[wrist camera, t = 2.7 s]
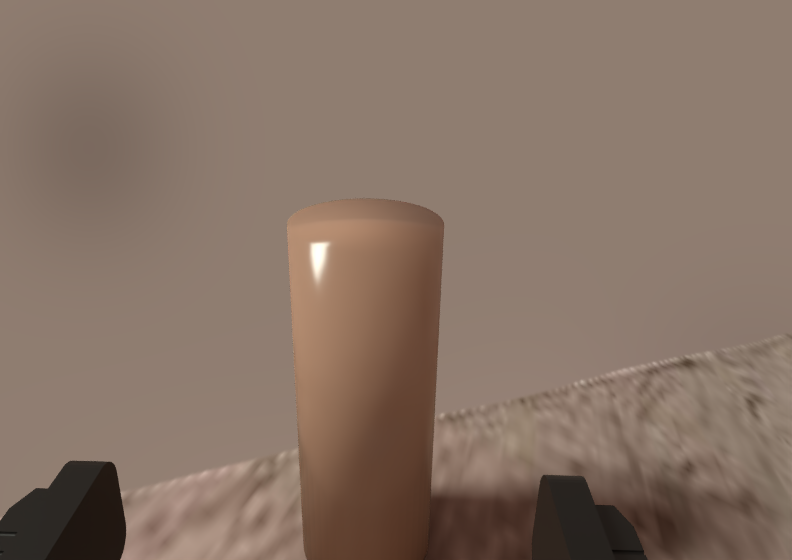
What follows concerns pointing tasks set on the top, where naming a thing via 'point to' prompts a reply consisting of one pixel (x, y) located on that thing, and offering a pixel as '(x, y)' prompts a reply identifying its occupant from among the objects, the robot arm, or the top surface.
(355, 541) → the terracotta canister
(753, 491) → the top surface
